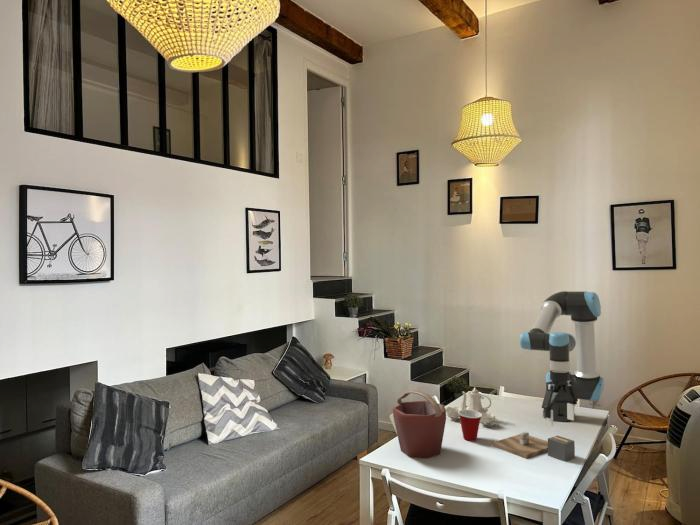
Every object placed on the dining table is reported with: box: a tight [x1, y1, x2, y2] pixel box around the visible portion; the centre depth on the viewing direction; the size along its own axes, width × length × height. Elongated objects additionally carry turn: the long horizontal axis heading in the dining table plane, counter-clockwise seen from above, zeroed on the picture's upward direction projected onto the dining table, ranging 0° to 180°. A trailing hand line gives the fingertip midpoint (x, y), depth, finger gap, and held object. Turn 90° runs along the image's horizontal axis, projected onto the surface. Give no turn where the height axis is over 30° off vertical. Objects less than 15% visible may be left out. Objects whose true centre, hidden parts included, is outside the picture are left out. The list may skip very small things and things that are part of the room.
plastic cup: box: [458, 410, 482, 442], centre depth 243 cm, size 11×11×12 cm
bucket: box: [392, 390, 447, 460], centre depth 230 cm, size 24×22×25 cm
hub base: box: [491, 431, 548, 459], centre depth 231 cm, size 20×18×6 cm
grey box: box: [547, 435, 576, 462], centre depth 219 cm, size 8×6×7 cm
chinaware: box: [445, 387, 499, 428], centre depth 268 cm, size 28×17×17 cm, turn 56°
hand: (560, 422), depth 219 cm, fingers open, 13 cm apart
